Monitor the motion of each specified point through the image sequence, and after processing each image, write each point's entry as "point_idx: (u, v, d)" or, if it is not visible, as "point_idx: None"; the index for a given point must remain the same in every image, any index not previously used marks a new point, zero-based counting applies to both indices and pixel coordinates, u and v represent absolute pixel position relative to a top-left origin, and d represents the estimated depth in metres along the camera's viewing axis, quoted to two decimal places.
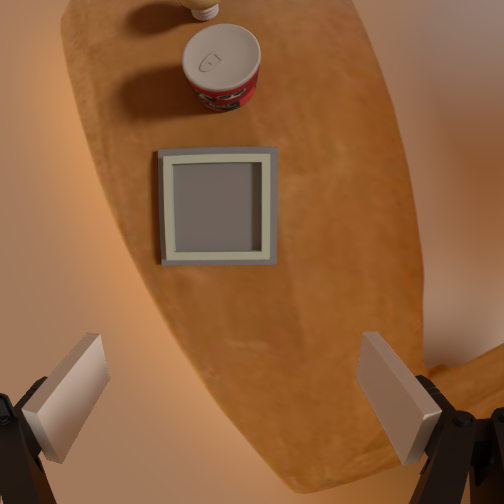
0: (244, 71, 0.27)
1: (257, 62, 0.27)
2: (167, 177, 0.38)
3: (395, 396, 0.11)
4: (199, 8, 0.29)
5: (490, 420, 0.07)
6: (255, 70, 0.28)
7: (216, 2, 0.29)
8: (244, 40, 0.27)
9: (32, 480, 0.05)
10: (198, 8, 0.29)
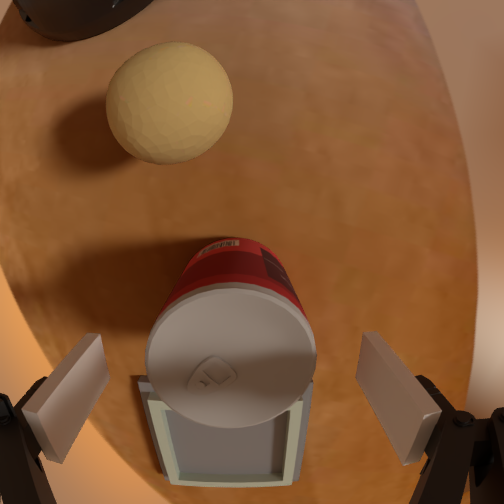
0: (279, 397, 0.14)
1: (307, 382, 0.14)
2: (158, 422, 0.25)
3: (395, 396, 0.11)
4: None
5: (490, 420, 0.07)
6: None
7: None
8: (281, 331, 0.13)
9: (32, 480, 0.05)
10: None
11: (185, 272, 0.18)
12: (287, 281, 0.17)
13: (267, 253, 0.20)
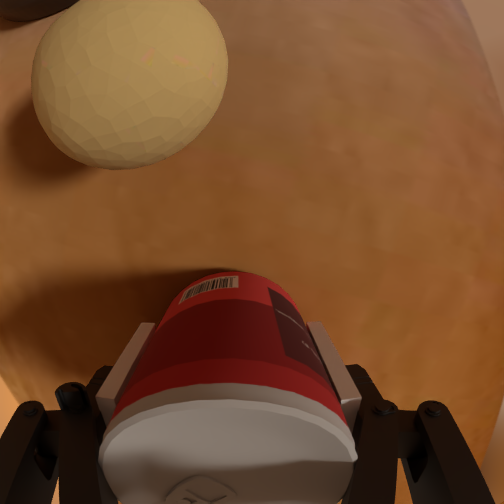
0: None
1: (339, 498, 0.08)
2: None
3: None
4: None
5: (416, 415, 0.09)
6: None
7: (189, 141, 0.09)
8: (308, 448, 0.07)
9: (96, 474, 0.06)
10: None
11: (160, 330, 0.12)
12: (311, 349, 0.11)
13: (278, 297, 0.14)
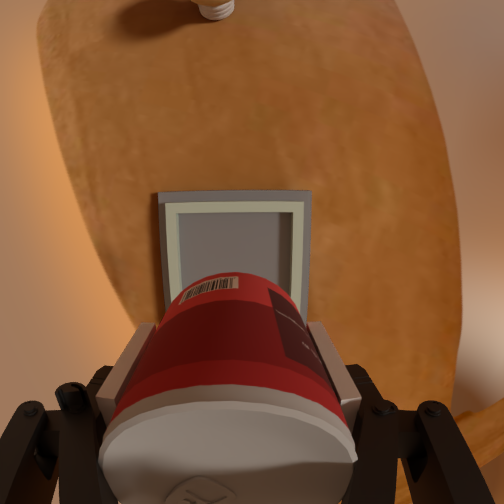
0: None
1: (339, 499, 0.08)
2: (171, 230, 0.30)
3: None
4: (211, 3, 0.21)
5: (416, 415, 0.09)
6: None
7: None
8: (308, 449, 0.07)
9: (96, 474, 0.06)
10: (210, 3, 0.21)
11: (160, 331, 0.12)
12: (311, 350, 0.11)
13: (278, 297, 0.14)
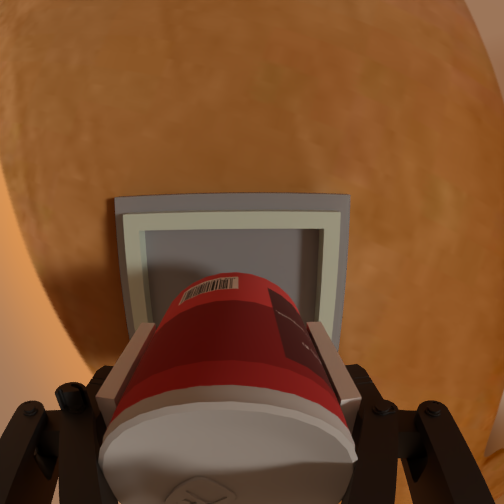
0: None
1: (339, 500, 0.08)
2: (133, 257, 0.19)
3: None
4: None
5: (416, 415, 0.09)
6: None
7: None
8: (308, 449, 0.07)
9: (96, 474, 0.06)
10: None
11: (160, 331, 0.12)
12: (311, 350, 0.11)
13: (278, 298, 0.14)
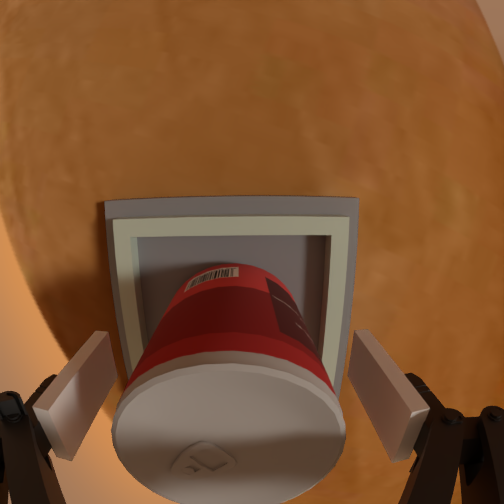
0: (292, 482, 0.09)
1: (330, 467, 0.09)
2: (124, 266, 0.17)
3: (384, 393, 0.11)
4: None
5: (479, 419, 0.08)
6: None
7: None
8: (299, 413, 0.09)
9: (41, 479, 0.05)
10: None
11: (167, 314, 0.13)
12: (304, 330, 0.12)
13: (275, 286, 0.16)
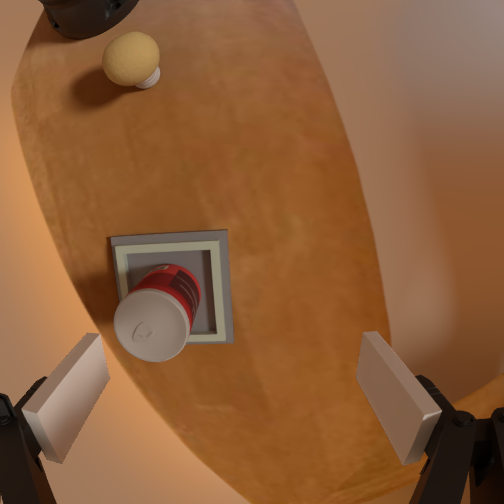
0: (175, 344, 0.30)
1: (186, 337, 0.29)
2: (121, 267, 0.38)
3: (395, 396, 0.11)
4: (131, 85, 0.30)
5: (490, 420, 0.07)
6: (185, 342, 0.30)
7: (148, 76, 0.29)
8: (170, 310, 0.29)
9: (32, 480, 0.05)
10: (130, 85, 0.30)
11: None
12: (183, 288, 0.33)
13: (182, 273, 0.36)
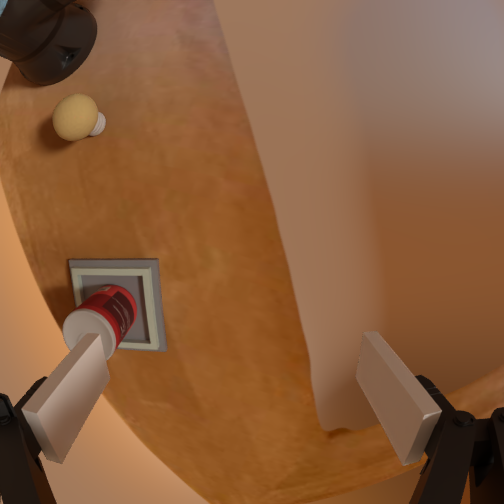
0: (105, 352, 0.36)
1: (112, 347, 0.36)
2: (76, 285, 0.44)
3: (395, 396, 0.11)
4: (76, 140, 0.36)
5: (490, 420, 0.07)
6: (113, 351, 0.36)
7: (88, 133, 0.35)
8: (100, 326, 0.35)
9: (32, 480, 0.05)
10: (75, 140, 0.36)
11: None
12: (115, 308, 0.39)
13: (119, 294, 0.43)
